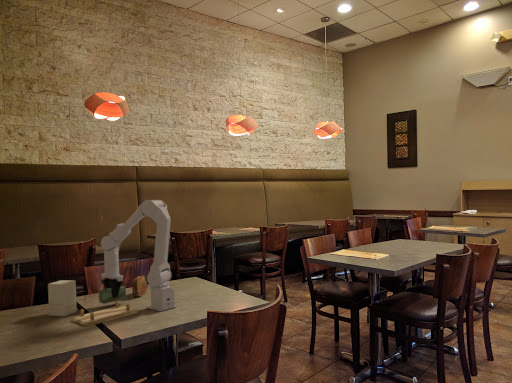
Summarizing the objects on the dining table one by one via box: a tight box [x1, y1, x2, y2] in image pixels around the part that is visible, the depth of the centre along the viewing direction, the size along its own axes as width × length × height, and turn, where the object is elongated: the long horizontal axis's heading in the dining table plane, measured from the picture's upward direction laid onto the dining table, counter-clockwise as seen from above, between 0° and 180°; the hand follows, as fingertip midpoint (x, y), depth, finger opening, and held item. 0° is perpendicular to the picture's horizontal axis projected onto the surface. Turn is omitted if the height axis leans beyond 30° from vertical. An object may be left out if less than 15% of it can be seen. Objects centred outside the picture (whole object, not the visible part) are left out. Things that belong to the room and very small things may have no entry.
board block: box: [98, 285, 127, 305], centre depth 166 cm, size 4×10×5 cm, turn 139°
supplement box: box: [47, 279, 77, 317], centre depth 156 cm, size 7×7×13 cm
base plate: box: [71, 300, 138, 327], centre depth 149 cm, size 12×20×4 cm, turn 139°
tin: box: [131, 275, 148, 298], centre depth 184 cm, size 15×3×8 cm, turn 179°
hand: (112, 296), depth 166 cm, fingers closed on board block, 4 cm apart
